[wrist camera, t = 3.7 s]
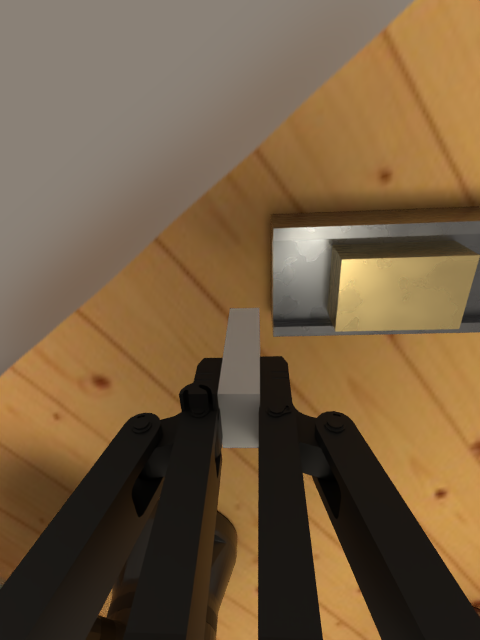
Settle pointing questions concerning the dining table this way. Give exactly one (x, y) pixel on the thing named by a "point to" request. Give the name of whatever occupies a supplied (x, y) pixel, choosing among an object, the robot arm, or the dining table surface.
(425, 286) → the tan rectangular block
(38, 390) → the dining table surface
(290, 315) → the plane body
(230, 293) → the dining table surface
